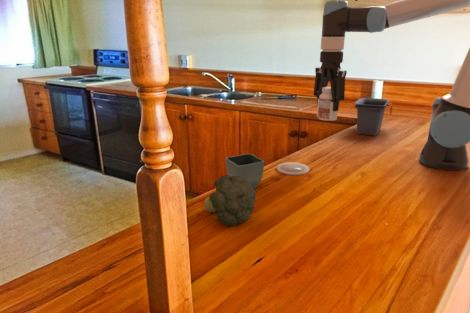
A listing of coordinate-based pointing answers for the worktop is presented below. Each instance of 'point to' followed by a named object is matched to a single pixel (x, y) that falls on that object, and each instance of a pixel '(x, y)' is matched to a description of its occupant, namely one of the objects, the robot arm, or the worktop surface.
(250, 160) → the flower pot
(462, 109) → the robot arm
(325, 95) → the pill bottle
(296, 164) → the coaster
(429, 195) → the worktop surface
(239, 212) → the vegetable
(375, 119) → the storage bin
